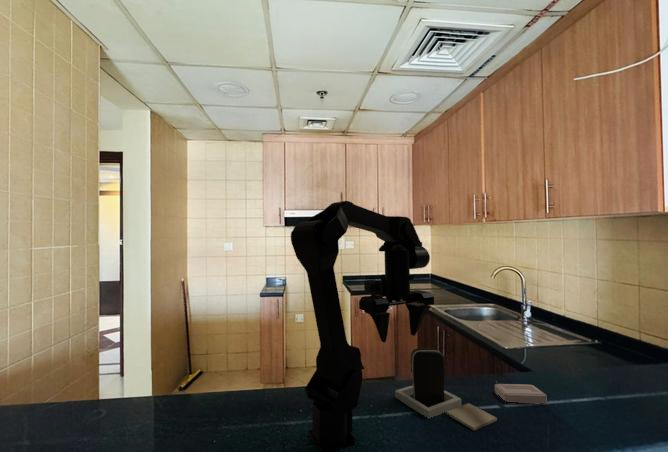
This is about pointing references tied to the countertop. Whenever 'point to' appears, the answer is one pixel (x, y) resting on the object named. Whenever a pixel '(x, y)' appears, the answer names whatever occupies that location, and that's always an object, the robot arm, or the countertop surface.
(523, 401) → the soap bar
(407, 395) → the frame
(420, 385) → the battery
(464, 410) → the pad
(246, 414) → the countertop surface
